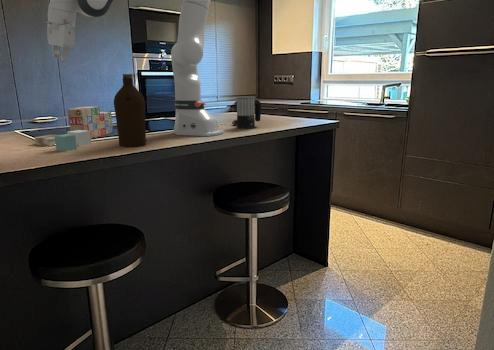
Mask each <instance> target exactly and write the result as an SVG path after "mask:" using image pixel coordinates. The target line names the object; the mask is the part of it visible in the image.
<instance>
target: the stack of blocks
mask: <svg viewBox="0 0 494 350" xmlns="http://www.w3.org/2000/svg"><path fill="white" fill-rule="evenodd" d="M67 115H68V124H69V130H70V131H75V130H86V131H90V135H91V139H94V138H93V137H95V138H98V137H101V135H102V136H106V135H109V134H112V133H114V125H113V124H114V121H113V118H112V117H113V116H112V111H101V110H100V106H88V105H87V106H79V107H74V108H68V109H67ZM97 136H98V137H97Z"/></svg>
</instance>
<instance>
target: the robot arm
mask: <svg viewBox="0 0 494 350" xmlns="http://www.w3.org/2000/svg"><path fill="white" fill-rule="evenodd" d="M113 1H114V0H49V4H48V8H47V15H46V17H45V23H46V24H47V27H46V31H47V32H46V37H47V39H46V40H47V42H48V45H51V49H52V57H53V59H57V60H58V59H59V60H61V61H63V62H66V61H68V55H69V53H70V49H71V50H72V49H74V47H75V28H76V19H77V13H80V14H82V15H83V16H86V17H89V18H98V17H102V16H105V14H106V13H107V12H108V10H109V9H110V7H111V5H112V3H113ZM210 3H211V0H182V2H181V8H180V13H179V14H180V15H179V19H178V32H177V33H178V34H177V41H176V43H175V44H174V45H173V46H172V47H171V50H170V56H171V58H170V59H171V66H172V73H173V82H174V97H175V98H174V99H175V100H174V110H175V118H174V119H175V121H174V128H173V131H172V132H173V133H174V134H175V135H176V136H195V137H197V136H199V137H210V136H213V137H214V136H218V135H220V134H223V133H224V130H223V129H219V123H218V119H217V118H216V117H215V116H213V115H212V114H211V113H210V111H208V110H207V109H205V106H206V105H207V102H206V101H202V98H201V94H202V93H201V92H202V91H201V80H200V76H199V75H200V74H199V71H198V70H199V69H198V64H199V63H201V61H202V59H203V58H204V57H203V56H204V44H205V32H206V25H207V20H208V15H209V9H210ZM60 48H61V54H60V53H59V52H60V51H59V50H60Z"/></svg>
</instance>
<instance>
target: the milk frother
mask: <svg viewBox="0 0 494 350" xmlns="http://www.w3.org/2000/svg"><path fill="white" fill-rule="evenodd" d="M255 98H256V97H255V96H236V119H234V120H233V121H232V122H231V124H232V125H233V126H236V128H237V129H244V130H245V129H250V128H251V129H254V128H256V122H260V121H261V117H262V116H261V114H262V112H261V111H262V103H261V101H260V100H258V99H255Z"/></svg>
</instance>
